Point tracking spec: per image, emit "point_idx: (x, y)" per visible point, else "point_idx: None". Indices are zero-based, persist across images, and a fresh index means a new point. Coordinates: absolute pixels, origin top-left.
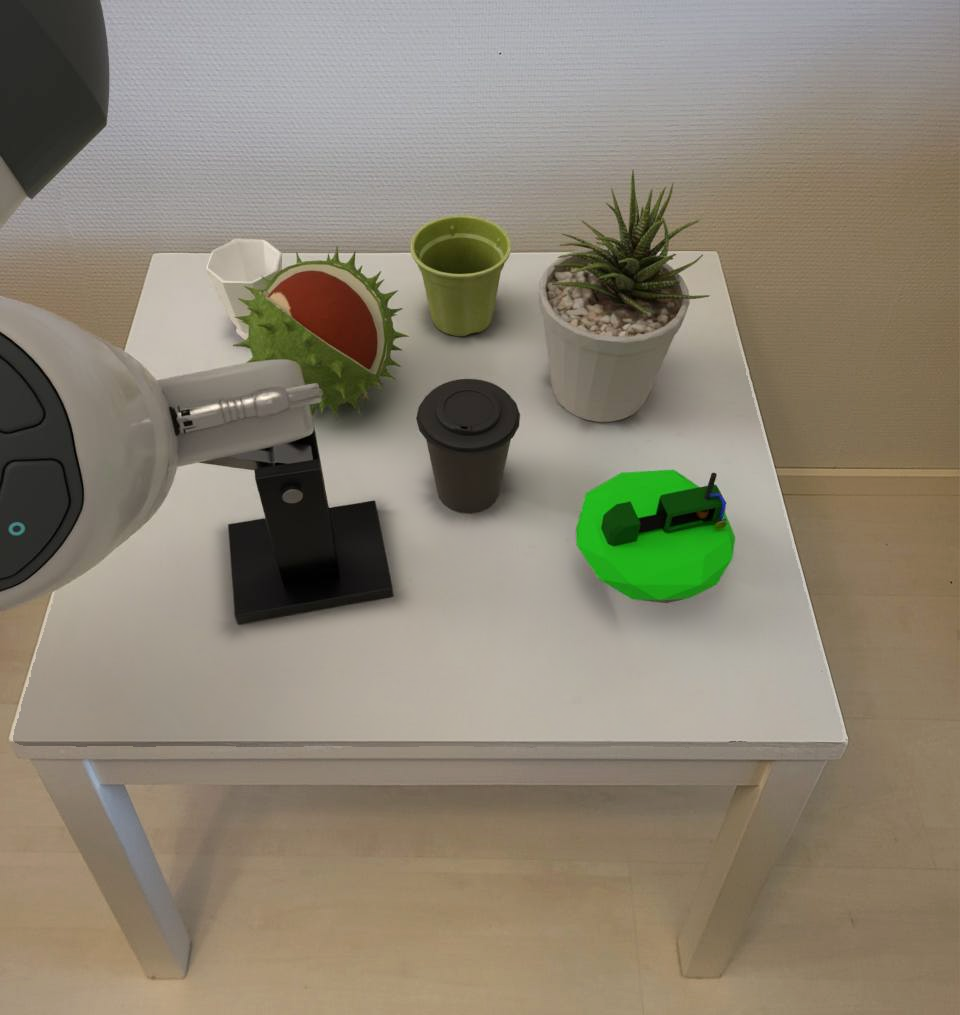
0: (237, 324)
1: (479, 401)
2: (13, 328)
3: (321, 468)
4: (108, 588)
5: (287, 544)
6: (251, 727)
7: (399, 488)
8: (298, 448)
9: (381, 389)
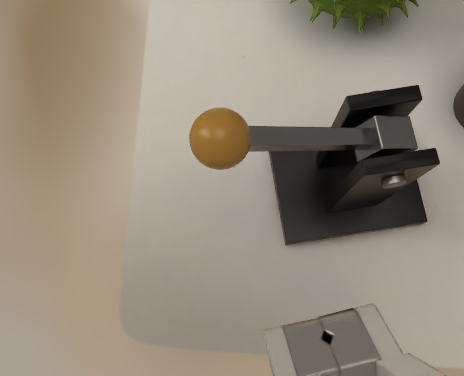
0: None
1: None
2: None
3: None
4: (168, 200)
5: (352, 199)
6: None
7: (417, 105)
8: (399, 123)
9: (417, 4)
